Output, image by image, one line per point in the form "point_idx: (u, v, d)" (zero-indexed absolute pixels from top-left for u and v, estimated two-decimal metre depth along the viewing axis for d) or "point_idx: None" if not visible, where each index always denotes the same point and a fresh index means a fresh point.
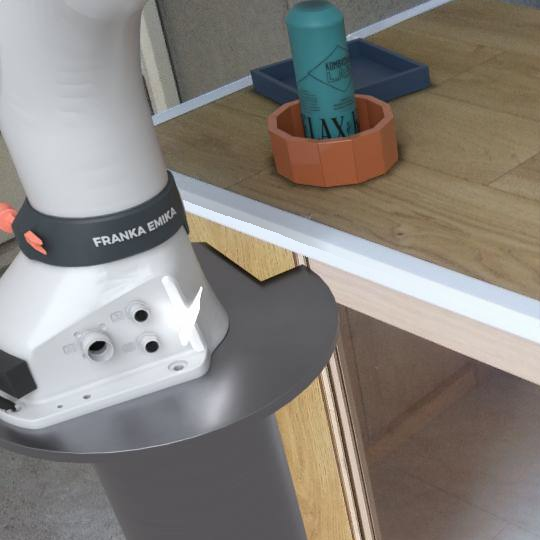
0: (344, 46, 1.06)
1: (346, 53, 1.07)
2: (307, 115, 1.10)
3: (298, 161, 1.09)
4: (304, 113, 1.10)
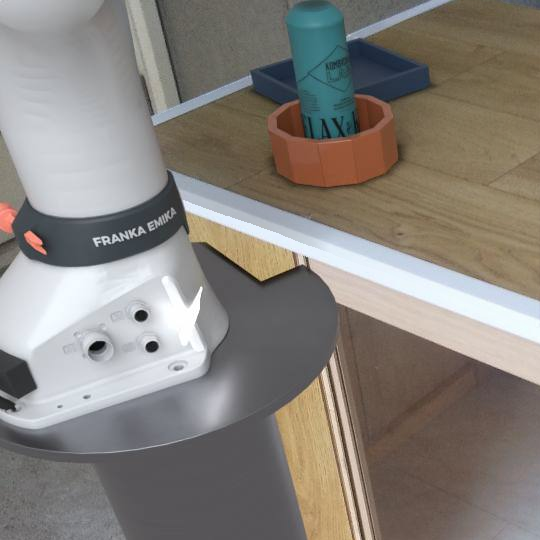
0: (344, 46, 1.06)
1: (346, 53, 1.07)
2: (307, 115, 1.10)
3: (298, 161, 1.09)
4: (304, 113, 1.10)
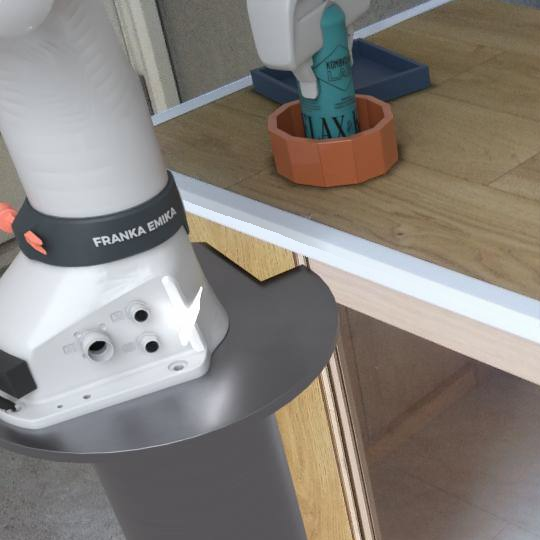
0: (345, 45, 1.06)
1: (347, 53, 1.07)
2: (307, 114, 1.10)
3: (298, 161, 1.09)
4: (304, 112, 1.10)
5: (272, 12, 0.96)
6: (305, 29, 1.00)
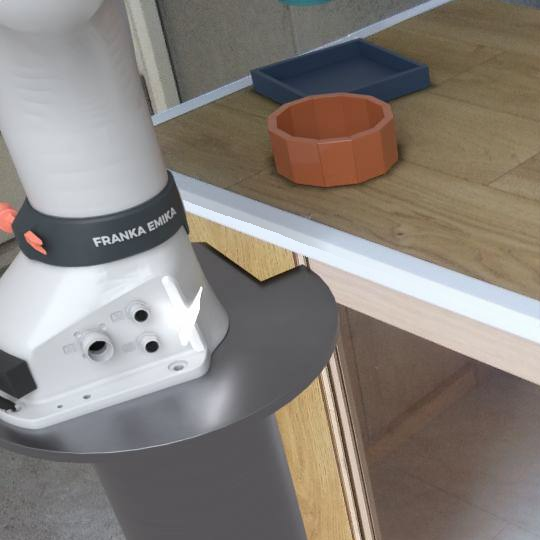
0: None
1: None
2: None
3: (298, 161, 1.09)
4: None
5: None
6: None
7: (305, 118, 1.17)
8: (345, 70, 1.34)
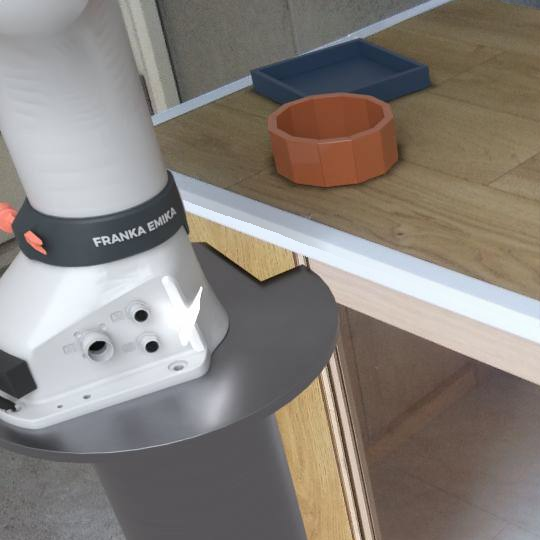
0: None
1: None
2: None
3: (298, 161, 1.09)
4: None
5: None
6: None
7: (305, 118, 1.17)
8: (345, 70, 1.34)
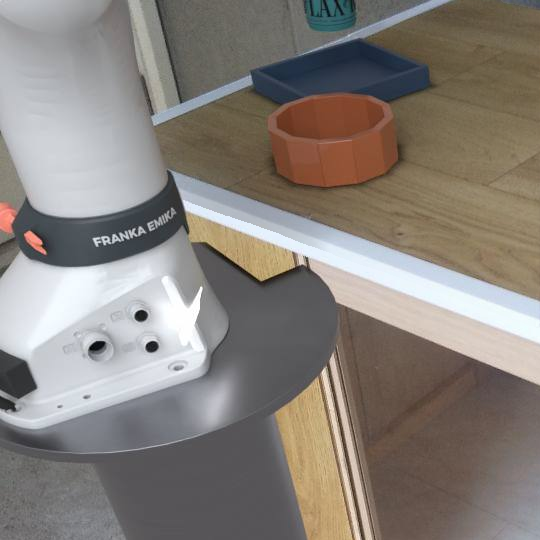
0: None
1: None
2: None
3: (298, 161, 1.09)
4: None
5: None
6: None
7: (305, 118, 1.17)
8: (345, 70, 1.34)
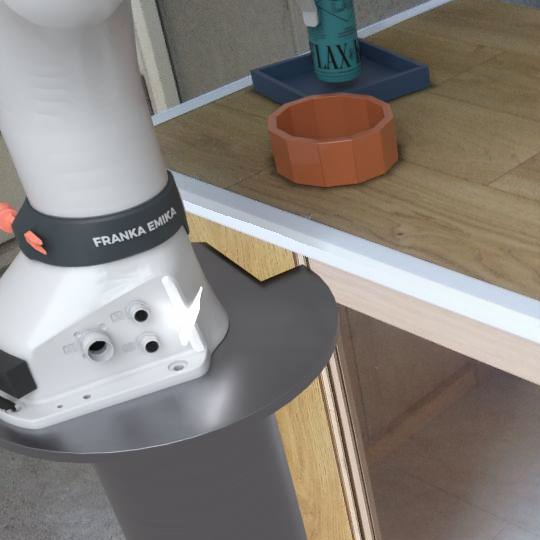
0: None
1: None
2: (314, 43, 1.24)
3: (298, 161, 1.09)
4: (312, 41, 1.25)
5: None
6: None
7: (305, 118, 1.17)
8: None
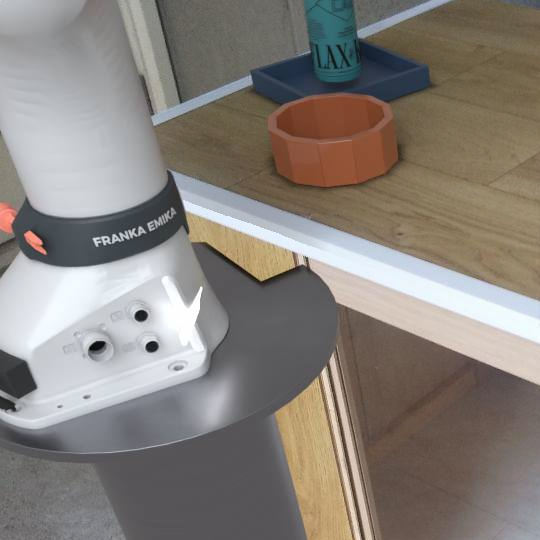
0: None
1: None
2: (314, 42, 1.24)
3: (298, 161, 1.09)
4: (312, 41, 1.25)
5: None
6: None
7: (305, 118, 1.17)
8: None
